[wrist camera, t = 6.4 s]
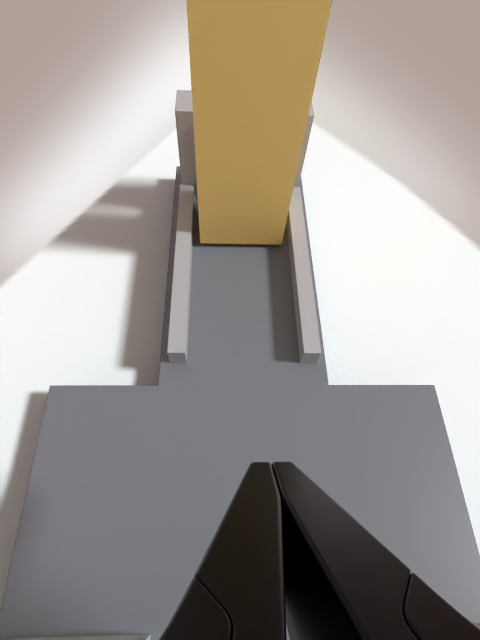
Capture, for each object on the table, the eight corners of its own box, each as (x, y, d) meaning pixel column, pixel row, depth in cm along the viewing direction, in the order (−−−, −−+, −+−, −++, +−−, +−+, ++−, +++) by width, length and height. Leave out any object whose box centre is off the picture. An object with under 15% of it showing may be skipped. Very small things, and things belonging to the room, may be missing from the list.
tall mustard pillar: (281, 244, 20) (337, -27, 11) (200, 243, 20) (184, -36, 11) (278, 208, 21) (326, -65, 12) (201, 207, 21) (188, -72, 12)
